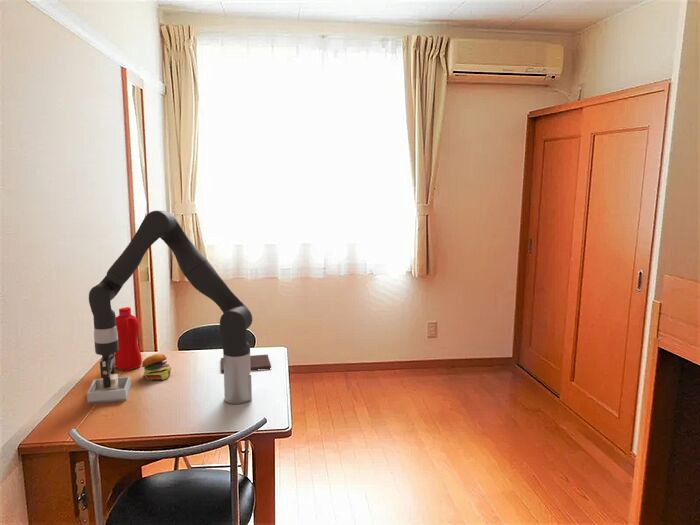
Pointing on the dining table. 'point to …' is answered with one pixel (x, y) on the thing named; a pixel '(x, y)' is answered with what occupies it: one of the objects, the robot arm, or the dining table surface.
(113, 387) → the birch block
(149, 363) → the cheeseburger
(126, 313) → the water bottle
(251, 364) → the notebook
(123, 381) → the grey bin
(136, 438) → the dining table surface
